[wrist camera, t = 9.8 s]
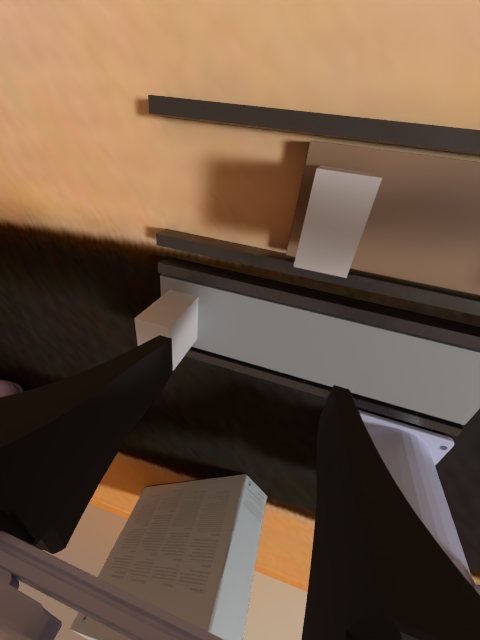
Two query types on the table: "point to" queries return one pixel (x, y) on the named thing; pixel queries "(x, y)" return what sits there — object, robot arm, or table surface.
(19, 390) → the headphones
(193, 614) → the skincare box
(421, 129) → the lane rails
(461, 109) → the table surface
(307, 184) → the strip
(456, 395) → the strip
